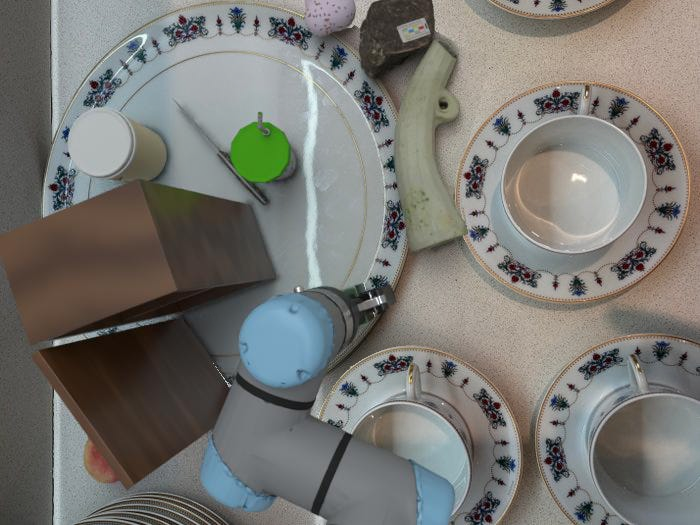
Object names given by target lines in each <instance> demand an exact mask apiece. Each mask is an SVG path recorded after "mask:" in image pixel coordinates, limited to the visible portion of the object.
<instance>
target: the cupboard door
mask: <svg viewBox="0 0 700 525" xmlns="http://www.w3.org/2000/svg"><path fill="white" fill-rule="evenodd" d="M30 358H31V359H32V361H33V362H34V363H35V365H36V366H37V367H38V369H39V370H40V372H41V373H42V374H43V376H44V377H45V379H46V380H47V382H48V383H49V384H50V386H51V387H52V389H53V390H54V392H55V393H56V394H57V396H58V397H59V398H60V400H61V401H62V403H63V404H64V406H65V407H66V408H67V409H68V411H69V412H70V414H71V415H72V416H73V418H74V420H76V422H77V423H78V425H79V426H80V428H81V429H82V430H83V432H84V433H85V435H86V437H88V439H90V440H91V441H92V443H93V444H94V446H95V447H96V448H97V450H98V451H99V453H100V454H101V455H102V457H103V458H104V460H105V461H106V462H107V464H108V465H109V467H110V468H111V469H112V471H113V472H114V474H115V475H116V476H117V478H118V479H119V481H118V482H120V483H121V485H122V487H123V488H124V489H125V491H128V490H130V489H131V488H133V487H134V486H135V485H137V484H138V483H140V482H141V481H142V480H145V479H146V478H147V477H149V475H151V474H153V473H154V472H155V471H156V470H158V469H159V468H161V467H162V466H163V465H165V464H166V463H168V462H169V461H171V460H172V459H173V458H175V457H176V456H178V455H179V454H180V453H182V452H183V451H185V450H186V449H187V448H189V447H190V446H191V445H193V444H194V443H195V442H197V441H198V440H199V439H201V438H203V437H204V436H206V435H207V434H208V433H210V432H211V431H212V430H213V428H214V427H215V425H216V422H217V420H218V418H219V415H220V413H221V410H222V408H223V406H224V403H225V401H226V398H227V396H228V394H229V391H230V388H229V387H228V385H227V383H226V382H225V380H226V381H227V382H230V384H232V382H231V381H230V380H229V379H228V377H227V375H226V374H225V373H224V372H223V370H222V369H221V368H220V367H219V365H218V364H217V362H216V361H215V359H214V358H213V357H212V356H211V354H210V353H209V351H208V350H207V349H206V348H205V346H204V345H203V344H202V342H201V341H200V340H199V338H198V336H196V334H195V333H194V332H193V330H192V329H191V327H190V326H189V325H188V323H187V322H186V321H185V319H184V318H183V317H182V316H179V317H175V318H171V319H167V320H162V321H158V322H154V323H149V324H144V325H140V326H136V327H132V328H127V329H124V330H119V331H114V332H111V333H106V334H102V335H98V336H97V335H96V336H93V337H88V338H84V339H80V340H76V341H70V342H67V343H63V344H57V345H53V346H49V347H46V348H41V349H37V350H36V351H35V352H34V353H32V354H31V355H30ZM213 363H214V364H213ZM215 366H216V367H217V368H216V367H215ZM217 369H218V370H219V371H218V370H217ZM219 372H220V373H221V374H222V376H223V377H224V378H225V380H224V379H223V377H222V376H221V374H220V373H219ZM228 384H229V383H228Z"/></svg>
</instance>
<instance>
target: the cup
mask: <svg viewBox="0 0 700 525" xmlns="http://www.w3.org/2000/svg"><path fill="white" fill-rule="evenodd" d="M263 115H264V114H263V112H262V111H258V112H257V121H252V122H251V123H249V124H247V125H245V126H243V127H241V128H240V129H239V130H238V131H237V133H236V135H235V136H234V138H233V139H232V141H231V143H230V155H229V156H230V159H231V161H232V163H233V166H234V168H235V170H236V172H237V173H238V174H239V175H241V176H242V177H243V178H245V179H246V180H248V181H249V182H252V183H254V184H270V183H271V182H273V181H279V180H285V179H287V178H289V177H291V176H292V175H293V173H294V172H295V170H296V169H297V162H298V161H297V160H298V159H297V157H296V155H295V153H294V152H293V149H292V146H291V143H290V142H289V139H288V137H287V135H286V133H285V131H283V130H281V129H280V128H279V127H278V126H275V125H274V124H273V123H271V122H269V121H263Z"/></svg>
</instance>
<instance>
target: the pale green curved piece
mask: <svg viewBox="0 0 700 525" xmlns="http://www.w3.org/2000/svg"><path fill="white" fill-rule="evenodd" d="M458 58H459V55H458V54H457V52H456V51H455V49H454V48H453V46H452V45H451V44H450V43H448V42H447V41H444V40H441V39H439V38H434V39H432V40H431V42H430V43H429V46H428V47H427V49H426V51H425V52H424V54H423V55H422V57H421V59H420V61H419V63H418V65H417V67H416V69H415V71H414V73H413V74H412V76H411V78H410V80H409V82H408V84H407V87H406V90H405V92H404V95H403V98H402V101H401V103H400V107H399V110H398V114H397V116H396V121H395V128H394V141H393V142H394V144H393V161H394V172H395V173H394V174H395V181H396V182H395V183H396V188H397V192H398V194H397V195H398V198H399V202H400V206H401V211H402V215H403V219H404V226H405V232H406V238H407V243H408V244H407V245H408V249H409V251H410V252H411V253H412V254H413V255H414V254H417V253H420V252H424V251H426V250H429V249H433V248H436V247H438V246H441V245H443V244H446V243H449V242H451V241H454V240H457V239H460V238H462V237H464V236H463V235H465V236H467V235H469V234H468V229H469V228H468V229H467V227H468V224H467V222H466V220H465V221H464V220H463V219H462V215H461V213H460V210H459V207H458V208H457V205H458V204H457V203H456V200H455V188H456V187H451V186H449V187H448V186H447V185H446V184H445V182H444V180H443V177H442V175H441V172H440V170H439V166H438V163H437V158H436V142H435V140H436V138H435V137H436V135H435V133H436V129H437V127H438V126H439V125H442V124H445V123H451V122H453V121H454V120H455V119H457V117H458V116H459V114H460V109H461V107H460V106H461V105H460V101H459V100H458V98H456V97H455V95H453V94H452V93H451V92H450V91H449V90H447V88H446V86H447V83H448V81H449V78H450V77H451V74H452V72H453V69H454V68H455V64H456V62H457V60H458ZM455 203H456V204H457V205H456V204H455ZM465 222H466V223H465ZM466 224H467V225H466ZM466 234H467V235H466Z"/></svg>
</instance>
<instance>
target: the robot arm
mask: <svg viewBox="0 0 700 525" xmlns="http://www.w3.org/2000/svg"><path fill="white" fill-rule="evenodd" d="M391 284H392V283H386V284H383V286H380V287H373V288H370V289H367V290H368V291H366V292H364V294H362V295H359V296H357V297H356V296H355V295H354V294H350V295H347V294H345V293H344V292H342V291H341V290H342V289H338V288H337V287H334V286H327V285H321V286H315V287H312V288H308V289H305V288H304V286H303V285H301V284H299V285H296V286H295V287H294V288H293V291H294V293H290V292H287V293H281V294H275V295H274V296H272V297H270V298H269V299H266V301H264V302H263V303H261V304H259V305H258V306H256V307H255V308H254V309H253V310H252V311H251V312H250V313H249V314H248V315H247V317H246V318H245V319H244V321H243V323H242V325H241V328H240V331H239V336H238V350H239V356H240V361H239V363H238V365H237V370H236V374H235V377H234V380H233V382H232V383H231V384H232V386H231V389H230V391H229V394H228V396H227V398H226V401H225V403H224V406H223V408H222V410H221V413H220V415H219V418H218V420H217V422H216V425H215V427H214V428H213V429H212V430H211V431H210V434H209V440H208V443H207V446H206V449H205V452H204V455H203V458H202V462H201V466H200V469H199V471H200V472H199V478H200V479H199V480H200V482H201V484H202V487H203V488H204V490H205V492H206V493H208V495H209V496H210V497H212V498H213V500H215V501H217V502H218V503H219V504H222V505H223V506H225V507H228V508H229V509H241V510H242V511H243V512H246V513H260V512H264V511H266V510H268V509H269V508H270V507H272V505H273V504H274V503H275V501H276V499H278V498H280V499H283V500H284V501H286V502H289V503H290V504H293V505H295V506H297V507H300V508H301V509H303V510H305V511H307V512H310V513H311V514H313V515H316V516H318V517H321V518H322V519H324V520H326V523H325V525H449V524H450V521H451V519H452V515H453V513H454V512H453V511H454V507H455V504H456V490H455V487H454V485H453V484H452V483H451V482H450V481H449V480H448V479H447V478H445V477H443V476H441V474H438V473H436V472H434V471H432V470H431V469H429V468H427V467H425V466H424V465H422V464H420V463H418V462H416V461H415V460H414V459H412V458H409V459H407V458H405V457H403V456H401V455H398V454H396V453H395V452H391V451H389V450H386V449H384V448H382V447H380V446H377V445H375V444H373V443H371V442H369V441H366V440H364V439H362V438H360V437H357V436H355V435H353V434H352V433H350V432H347V431H346V430H344V429H342V428H340V427H338V426H335V425H333V424H332V423H331V424H330V423H329V422H327V421H325V420H322V419H320V418H317V417H315V416H313V415H312V414H311V412H312V409H313V407H314V405H315V403H316V400H317V396H318V394H319V391H320V388H321V386H322V383H323V381H324V379H325V376H326V374H327V371H328V368H329V366H330V364H331V362H332V361H333V360H334V359H336V358H337V357H338V356H340V355H341V354H342V353H343V352H344V351H345V350H346V349H347V348H348V347H349V346H350V345H351V344H352V343H353V341H354V340H355V338H356V336H357V333H358V330H359V327H360V326H359V323H360V322H362V321H363V317H364V316H365V315H367V314H369V313H371V312H374V313H376V315H377V316H379V315H383V314H385V313H387V311H388V310H389V309H390V307H391V306H394V305H395V304H397V297H396V295H395V292H394V290H393V288H392V285H391ZM375 288H376V289H375Z"/></svg>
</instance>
